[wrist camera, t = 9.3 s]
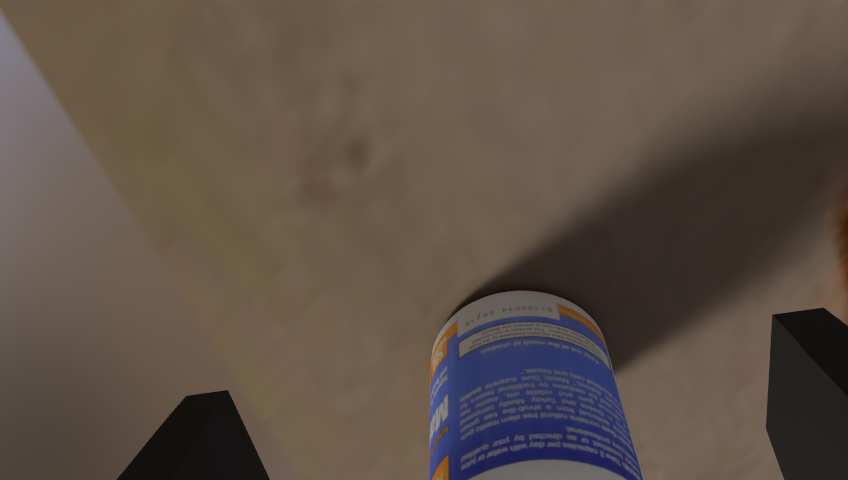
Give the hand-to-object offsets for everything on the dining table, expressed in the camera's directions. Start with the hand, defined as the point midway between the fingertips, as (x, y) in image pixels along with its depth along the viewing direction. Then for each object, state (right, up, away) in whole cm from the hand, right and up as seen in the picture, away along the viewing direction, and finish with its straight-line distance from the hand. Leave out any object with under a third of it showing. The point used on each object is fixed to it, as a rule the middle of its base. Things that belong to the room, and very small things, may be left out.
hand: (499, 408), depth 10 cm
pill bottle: (+2, -1, +13) cm, 14 cm away
